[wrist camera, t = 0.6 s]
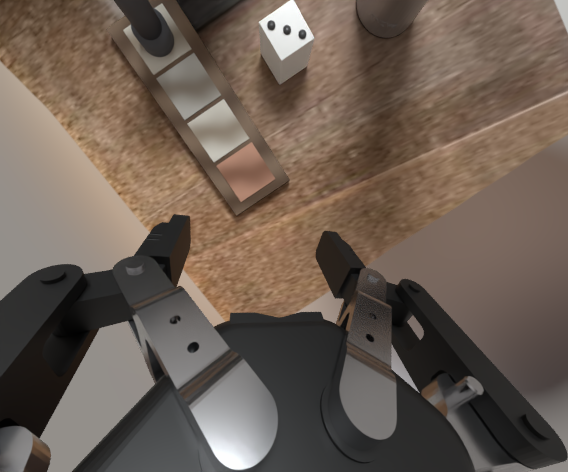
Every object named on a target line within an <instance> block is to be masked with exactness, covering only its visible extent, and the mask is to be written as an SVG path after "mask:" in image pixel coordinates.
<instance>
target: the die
mask: <svg viewBox="0 0 568 472" xmlns="http://www.w3.org/2000/svg"><path fill="white" fill-rule="evenodd" d="M259 33H260V50H261V55H262V56H263V58H264V60H265V62H266V63H267V65H268V67H269V68H270V70H271V72H272V73H273V75H274V77H275V78H276V80H277V82H278V83H279V85H280V84H282V83H283V82H285V81H286V80H288V79H289V78H291V77H292V76H294V75H295V74H297V73H298V72H300V71H301V70H302V69H304V68H305V67H307V65H308V61H309V57H310V53H311V49H312V46H313V42H314V36H313V35H312V33H311V31H310V29H309V27H308V26H307V24H306V22H305V20H304V18H303V16H302V15H301V13H300V11H299V9H298V7H297V6H296V4H295V2H294V0H290V1H289V2H287V3H286V4H284V5H283V6H282V7H280V8H279V9H277V10H276V11H274V12H273V13H271V14H270V15H268V16H267V17H265V18H264V19H263V20H261V21H260V22H259Z"/></svg>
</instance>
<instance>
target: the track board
mask: <svg viewBox="0 0 568 472" xmlns="http://www.w3.org/2000/svg"><path fill="white" fill-rule="evenodd" d="M148 1H149V2H150V4H151V6H152V8H154V9H156V10H158V11H159V12H160V13H161V14H162V16H163V17H164V19H165V21H166V22H167V24H168V26H169V28H170V30H171V31H172V33H173V36H174V47H173V49H172V51H171V52H170V53H169V54H168V55H166V56H164V57H155V56H152V55H151V54H149V53H148V52H147V51H146V50H145V49H144V47H143V46H142V45H141V44H140V42H139V41H138V40H137V39H136V37H135V36H134V34H133V32H132V29H131V23H130V21H129V20H128V19H127V17H126V16H124V17H123V18H121V19H120V20H118V21H117V22H115V23H114V24H112V25H111V26H110V27H108V28H107V29H106V30H107V31H108V33H109V34H110V35H111V37H112V38H113V40H114V41H115V43H116V44H117V45H118V47H119V48H120V50H121V51H122V53H123V54H124V55H125V57H126V58H127V60H128V61H129V63H130V64H131V65H132V67H133V68H134V70H135V71H136V73H137V74H138V76H139V77H140V78H141V80H142V81H143V83H144V84H145V86H146V87H147V88H148V90H149V91H150V93H151V94H152V96H153V97H154V98H155V100H156V101H157V103H158V104H159V106H160V107H161V108H162V110H163V111H164V113H165V114H166V116H167V117H168V118H169V120H170V121H171V123H172V124H173V126H174V127H175V128H176V130H177V131H178V133H179V134H180V136H181V137H182V138H183V140H184V141H185V143H186V144H187V146H188V147H189V148H190V150H191V151H192V153H193V154H194V156H195V157H196V158H197V160H198V161H199V163H200V164H201V166H202V167H203V169H204V170H205V171H206V173H207V174H208V176H209V177H210V179H211V180H212V181H213V183H214V184H215V186H216V187H217V189H218V190H219V191H220V193H221V194H222V196H223V197H224V199H225V200H226V201H227V203H228V204H229V206H230V207H231V209H232V210H233V211H234V213H235V214H236V216H237V215H239V214H240V213H242V212H243V211H245V210H246V209H248V208H249V207H251V206H252V205H254V204H255V203H257V202H258V201H260V200H261V199H263V198H264V197H266V196H267V195H269V194H270V193H272V192H273V191H275V190H276V189H278V188H279V187H280V186H282V185H283V184H285V183H286V182H288V181H289V180H290V179H289V178H288V176H287V175H286V173H285V172H284V170H283V168H282V167H281V165H280V164H279V162H278V160H277V159H276V157H275V156H274V154H273V153H272V151H271V149H270V148H269V146H268V145H267V143H266V142H265V140H264V138H263V137H262V135H261V134H260V132H259V131H258V129H257V127H256V126H255V124H254V123H253V121H252V119H251V118H250V116H249V115H248V113H247V112H246V110H245V108H244V107H243V105H242V104H241V102H240V101H239V99H238V97H237V96H236V94H235V93H234V91H233V89H232V88H231V86H230V85H229V83H228V82H227V80H226V78H225V77H224V75H223V74H222V72H221V71H220V69H219V67H218V66H217V64H216V63H215V61H214V59H213V58H212V56H211V55H210V53H209V52H208V50H207V48H206V47H205V45H204V44H203V42H202V41H201V39H200V37H199V36H198V34H197V33H196V31H195V30H194V28H193V26H192V25H191V23H190V22H189V20H188V18H187V17H186V15H185V14H184V12H183V11H182V9H181V7H180V6H179V4H178V3H177V1H176V0H148Z"/></svg>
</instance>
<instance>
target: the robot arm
mask: <svg viewBox="0 0 568 472" xmlns="http://www.w3.org/2000/svg"><path fill="white" fill-rule="evenodd" d="M427 1H428V0H357V11H358V15H359V17H360V20H361V22H362V23H363V25H364V27H365V28H366V29H367V30H368V31H369V32H371V33H372V34H374V35H376V36H379V37H383V38H390V37H394V36H397V35H399V34H401V33H402V32H403V31H405V30H406V29H407V27H408V26H409V25H410V24H411V23H412V21H413V20H414V19H415V17H416V16H417V15H418V13H419V12H420V11H421V9H422V8H423V7H424V5H425V4H426V3H427ZM190 242H191V236H190V216H185V215H176V214H174V215H173V217H172V218H171V220H170V222H169V223H164V222H162V223H160V224H158V225H157V226H155V227H154V228H153V229H152V230H151V232H150V234H149V235H148V236H147V238H146V239H145V241H144V242H143V243H142V245H141V246H140V248H139V249H138V251H137V252H136V254H135V255H134V256H132V257H128V258H125V259H123V260H121V261H119V262H118V263H117V264H116V265H115V266H114V267H113V269H112V270H108V271H102V272H95V273H88V274H84V273H83V271H82V269H81V268H80V267H79V266H76V265H71V264H62V265H55V266H50V267H47V268H44V269H41V270H38V271H36V272H34V273H32V274H31V275H29V276H28V277H27V278H25V279H24V280H23V281H22V282H21V283H20V284H19V285H17V286H16V287H15V288H14V289H13V290H12V291H11V292H10V293H9V294H8V295H6V296H5V297H4V298H3V299H2V300H1V301H0V472H47V470H48V467H49V465H50V460H51V452H50V448H49V447H48V445H47V444H45V443H44V442H43V441H42V440H40V439H39V438H40V436H41V435H42V433H43V431H44V429H45V427H46V425H47V424H48V422H49V419H50V418H51V416H52V414H53V413H54V411H55V409H56V407H57V405H58V404H59V401H60V399H61V398H62V396H63V394H64V392H65V390H66V389H67V387H68V385H69V383H70V381H71V380H72V378H73V376H74V374H75V372H76V371H77V369H78V367H79V365H80V363H81V361H82V360H83V358H84V356H85V354H86V352H87V350H88V349H89V347H90V345H91V343H92V341H93V339H94V337H95V336H96V334H97V332H98V330H99V328H101V327H105V326H109V325H113V324H117V323H121V322H125V321H127V323H128V325H129V327H130V329H131V331H132V333H133V335H134V337H135V339H136V341H137V343H138V345H139V348H140V350H141V352H142V354H143V356H144V359H145V362H146V364H147V367H148V369H149V372H150V374H151V376H152V378H153V380H154V383H155V385H154V386H153V387H152V388H151V389H150V390H149V391H148V392H147V393H146V395H144V396H143V397H142V398H141V400H139V402H138V403H137V404H136V405H135V406H134V407H133V408H132V409H131V410H130V411H129V412H128V413H127V414H126V415H125V416H124V417H123V419H121V420H120V422H119V423H118V424H117V425H116V426H115V427H114V428H113V429H112V430H111V431H110V432H109V433H108V434H107V435H106V436H105V437H104V438H103V439H102V441H101V442H99V444H98V445H97V446H96V447H95V448H94V449H93V450H92V451H91V452H90V453H89V454H88V455H87V456H86V457H85V458H84V459H83V460H82V461H81V463H80V464H79V465H78V466H77V467H76V468H75V469H74V470H73V471H72V472H528V471H531V470H534V469H538V468H542V467H546V466H549V465H553V464H556V463H560V462H563V461H565V460H567V451H566V449H565V446H564V444H563V442H562V441H561V439H560V438H559V436H558V435H557V434H556V433H555V431H554V430H553V429H552V428H551V426H550V425H549V424H548V423H547V422H546V421H545V420H544V419H543V418H542V417H541V415H539V413H538V412H537V411H536V410H535V409H534V408H533V407H532V406H531V405H530V404H529V402H527V400H526V399H525V398H524V397H523V396H522V395H521V394H520V393H519V391H518V390H516V388H515V387H514V386H513V385H512V384H511V383H510V382H509V381H508V380H507V378H506V377H505V376H504V375H503V374H502V373H501V372H500V371H499V370H498V369H497V368H496V366H494V364H493V363H492V362H491V361H490V360H489V359H488V358H487V357H486V356H485V355H484V354H483V352H482V351H481V350H480V349H479V348H478V347H477V346H476V345H475V344H474V343H473V341H472V340H471V339H470V338H469V337H468V336H467V335H466V334H465V333H464V332H463V331H462V329H461V328H460V327H459V326H458V325H457V324H456V323H455V322H454V321H453V320H452V319H451V317H450V316H449V315H448V314H447V313H446V312H445V311H444V310H443V309H442V308H441V307H440V306H439V305H438V303H437V302H436V301H435V300H434V299H433V298H432V297H431V296H430V295H429V294H428V293H427V291H426V290H425V289H424V288H423V287H422V286H420V285H419V284H417V283H416V282H414V281H411V280H408V279H402V280H401V281H400V282H399V284H398V285H395V284H391V283H388V282H386V280H385V278H384V277H383V276H382V275H381V274H380V273H379V272H377V271H375V270H373V269H369V268H366V267H365V265H364V264H363V263H362V262H361V260H360V259H359V258H358V256H357V255H356V254H355V252H354V251H353V250H352V248H351V247H350V246H349V245H348V244H347V243H346V242H345V241H343V240H342V239H341V237H340V236H339V235H338V233H337V232H331V231H324V232H323V234H322V236H321V239H320V242H319V244H318V247H317V249H316V260H317V262H318V264H319V266H320V268H321V270H322V272H323V274H324V277H325V279H326V281H327V283H328V285H329V287H330V289H331V291H332V293H333V295H334V297H335V298H343V299H344V302H343V303H342V306H341V309H340V312H339V316H338V318H337V322H336V324H335V323H332V322H330V321H327V320H324V319H323V316H322V314H321V312H300V313H296V314H292V315H289V316H285V317H281V318H277V317H273V316H268V315H263V314H259V313H231V314H230V321H227V322H224V323H221V324H219V325H217V326H215V327H213V326H212V324H211V323H210V322H209V321H208V319H207V318H206V317H205V315H204V314H203V313H202V311H201V310H200V309H199V307H198V306H197V305H196V304H195V302H194V301H193V300H192V298H191V297H190V296H189V294H188V293H187V292H186V291H185V289H184V288H183V287H181V286H178V287H177V284H178V281H179V278H180V275H181V273H182V270H183V267H184V264H185V261H186V258H187V255H188V253H189V249H190ZM412 315H414V317H415V318H416V319H417V321H418V322H419V323H420V325H421V326H422V328H423V330H424V336H423V338H422V339H421V340H419V338H418V337H417V335H416V334H415V333H414V331H413V330H412V328H411V327H410V325H409V324H408V323H407V321H408V320H409V319H410V318H411V316H412ZM391 343H392V345H393V347H394V349H395V350H396V352H397V354H398V356H399V357H400V359H401V361H402V363H403V364H404V366H405V368H406V370H407V371H408V373H409V375H410V377H411V378H412V380H413V382H414V384H415V385H416V387H417V389H418V391H419V392H420V393H418V392H417V391H416V390H415V389H414V388H412V387H411V386H410V385H409V384H407V382H405V381H404V380H403V379H402V378H401V377H400V376H398V375H397V374H396V373H395V372H394V371H393V370H392V369H391Z"/></svg>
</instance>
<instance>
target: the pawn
mask: <svg viewBox="0 0 568 472" xmlns="http://www.w3.org/2000/svg"><path fill="white" fill-rule="evenodd" d="M114 1H115V3H116V4H117V5H118V7H119V8H120V9H121V11H122V12H123V13H124V15H125V16H126V17H127V19H128V20H129V21H130V23H131V29H132V32H133V34H134V36H135V37H136V39H137V40H138V41H139V42H140V44H141V45H142V46H143V47H144V49H145V50H146V51H147V52H148V53H149V54H151V55H152V56H155V57H164V56H166V55H168V54H169V53H170V52H171V51H172V49H173V47H174V36H173V33H172V31H171V30H170V28H169V26H168V24H167V22H166V21H165V19H164V17H163V16H162V14H161V13H160V12H159V11H158V10H156V9H154V8H152V6H151V4H150V2H149V1H148V0H114Z"/></svg>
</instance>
